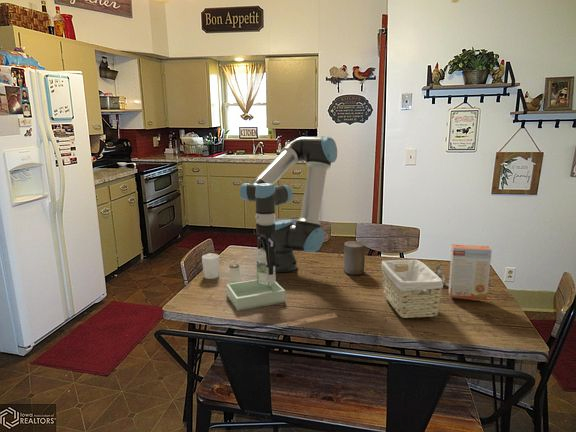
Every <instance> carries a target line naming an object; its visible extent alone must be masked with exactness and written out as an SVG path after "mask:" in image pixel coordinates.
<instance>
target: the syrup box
mask: <svg viewBox="0 0 576 432" xmlns="http://www.w3.org/2000/svg"><path fill="white" fill-rule="evenodd" d="M266 266H267V260H266V252H265V250H264V248H259V249H258V248H257V250H256V276H257V277H256V280H257V284H259V285H265V286H271V285H272V284H274V283H275V282H277V281H276V272H275V266H274V282H268V283H267V272H266Z"/></svg>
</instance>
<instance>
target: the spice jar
mask: <svg viewBox="0 0 576 432" xmlns="http://www.w3.org/2000/svg"><path fill="white" fill-rule="evenodd" d="M237 282H242V281H241V265H240V264H239V263H236V262H235V263H230V264H229V265H228V284H231V283H237Z"/></svg>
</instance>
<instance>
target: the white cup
mask: <svg viewBox="0 0 576 432" xmlns="http://www.w3.org/2000/svg"><path fill="white" fill-rule="evenodd" d="M201 261H202V270H203V275H204V276H203V277H204V278H205V279H207V280H208V279H209V280H212V279H217V278H218V277H219V276H220V255H219V254H218V253H207V254H203V255H202V256H201Z"/></svg>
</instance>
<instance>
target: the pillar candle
mask: <svg viewBox="0 0 576 432" xmlns="http://www.w3.org/2000/svg"><path fill="white" fill-rule="evenodd" d="M343 252H344V254H343V271H344V272H345V273H346V274H348V275H362V274H364V273H365V258H366V255H365V254H366V244H365V242H363V241H358V240H351V241H350V240H349V241H346V242H344V251H343Z"/></svg>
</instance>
